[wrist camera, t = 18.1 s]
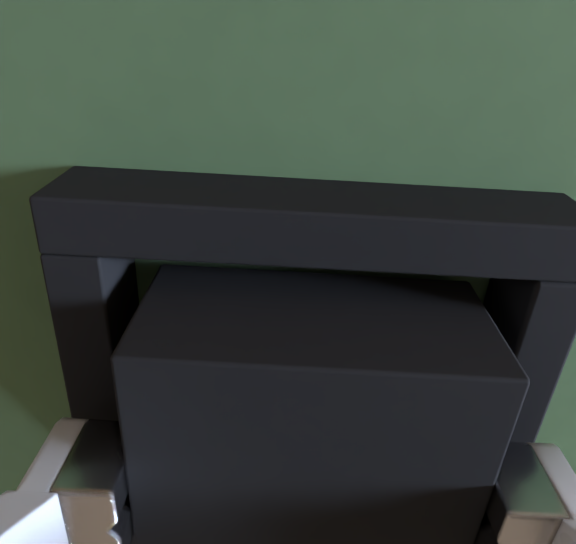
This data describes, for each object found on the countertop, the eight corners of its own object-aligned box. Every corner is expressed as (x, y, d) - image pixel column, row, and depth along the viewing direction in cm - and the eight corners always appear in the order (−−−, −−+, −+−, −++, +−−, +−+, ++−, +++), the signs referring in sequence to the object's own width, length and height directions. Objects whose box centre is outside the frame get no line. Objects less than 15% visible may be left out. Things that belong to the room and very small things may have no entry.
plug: (160, 262, 10) (107, 357, 7) (470, 279, 10) (533, 381, 7) (180, 542, 14) (151, 671, 11) (401, 554, 14) (425, 685, 11)
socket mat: (-133, -59, 9) (-305, -85, 6) (792, -3, 9) (986, -7, 6) (56, 610, 18) (17, 707, 15) (504, 632, 18) (536, 731, 16)
